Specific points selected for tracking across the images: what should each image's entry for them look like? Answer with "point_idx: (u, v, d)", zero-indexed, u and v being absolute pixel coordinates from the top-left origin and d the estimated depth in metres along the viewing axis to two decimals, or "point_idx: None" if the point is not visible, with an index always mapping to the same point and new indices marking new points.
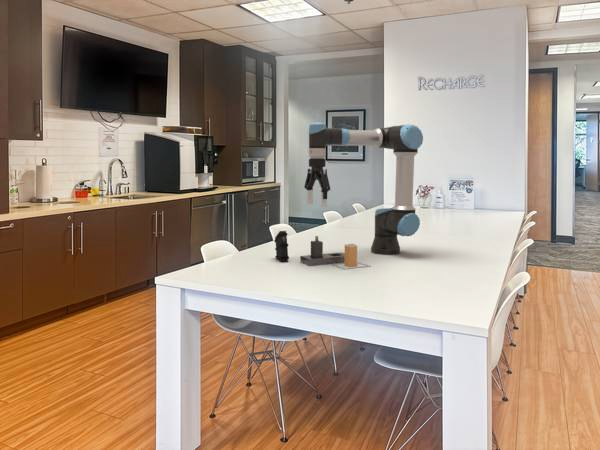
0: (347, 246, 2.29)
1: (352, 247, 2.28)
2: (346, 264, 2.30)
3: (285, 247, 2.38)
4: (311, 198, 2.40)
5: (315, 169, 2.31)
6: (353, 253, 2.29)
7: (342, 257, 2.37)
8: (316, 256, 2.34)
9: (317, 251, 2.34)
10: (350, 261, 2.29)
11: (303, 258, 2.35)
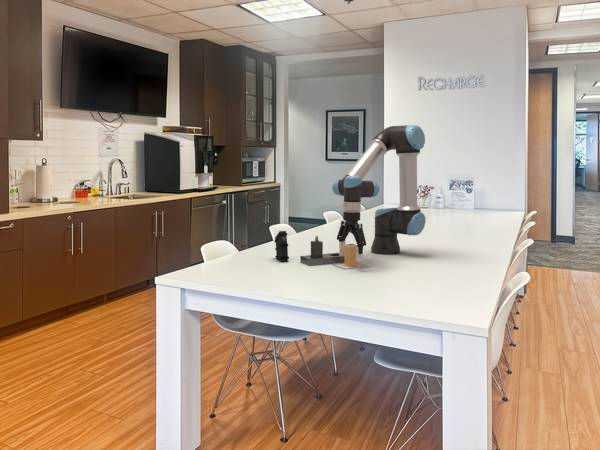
0: (347, 246, 2.29)
1: (352, 247, 2.28)
2: (346, 264, 2.30)
3: (285, 247, 2.38)
4: (344, 250, 2.36)
5: (350, 223, 2.28)
6: (353, 253, 2.29)
7: (342, 257, 2.37)
8: (316, 256, 2.34)
9: (317, 251, 2.34)
10: (350, 261, 2.29)
11: (303, 258, 2.35)
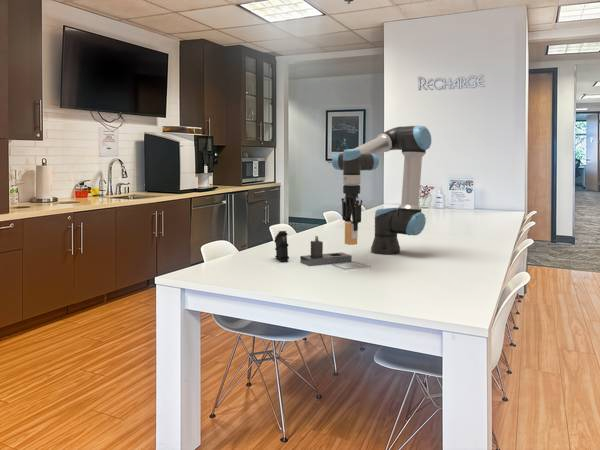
0: (347, 223, 2.28)
1: None
2: (346, 241, 2.29)
3: (285, 247, 2.38)
4: None
5: (350, 196, 2.26)
6: None
7: (342, 257, 2.37)
8: (316, 256, 2.34)
9: (317, 251, 2.34)
10: (351, 238, 2.27)
11: (303, 258, 2.35)
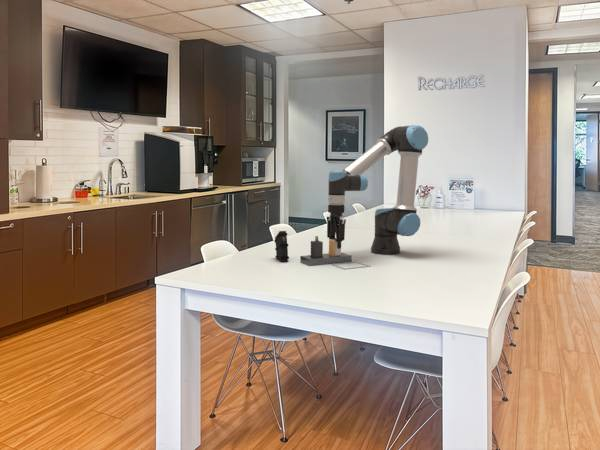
0: (331, 240, 2.38)
1: None
2: None
3: (285, 247, 2.38)
4: None
5: (334, 215, 2.37)
6: None
7: (342, 257, 2.37)
8: (316, 256, 2.34)
9: (317, 251, 2.34)
10: (334, 255, 2.38)
11: (303, 258, 2.35)
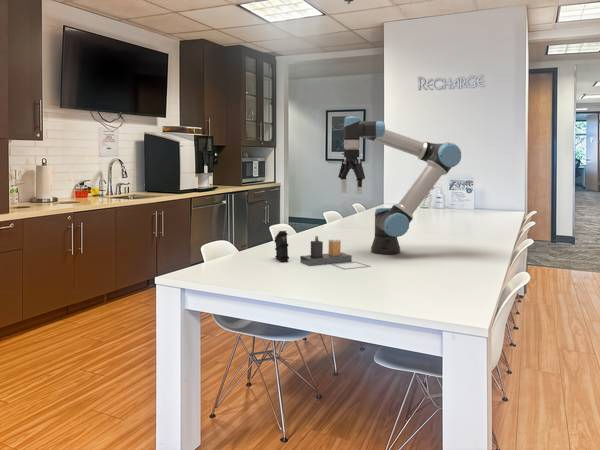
0: (331, 241, 2.38)
1: (336, 242, 2.38)
2: None
3: (285, 247, 2.38)
4: (345, 187, 2.57)
5: (350, 159, 2.49)
6: (337, 248, 2.38)
7: (342, 257, 2.37)
8: (316, 256, 2.34)
9: (317, 251, 2.34)
10: None
11: (303, 258, 2.35)
